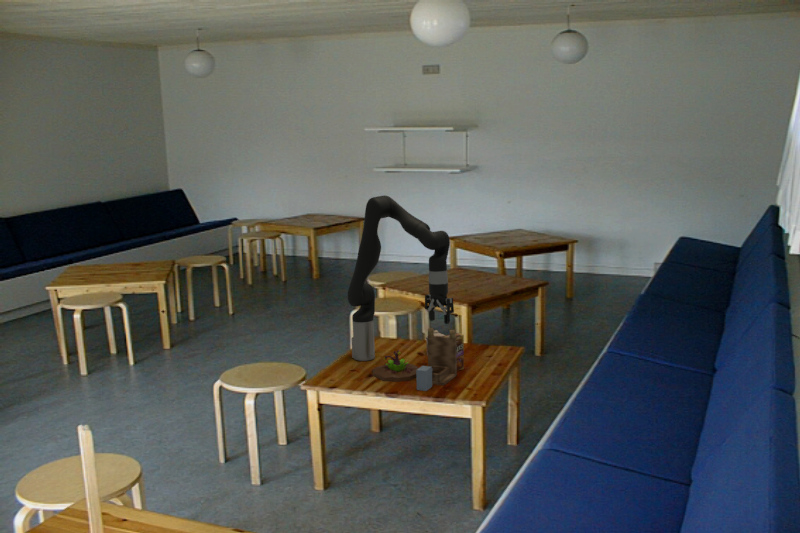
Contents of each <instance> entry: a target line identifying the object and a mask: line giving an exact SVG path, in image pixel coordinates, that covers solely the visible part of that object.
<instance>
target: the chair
mask: <svg viewBox="0 0 800 533" xmlns="http://www.w3.org/2000/svg"><path fill="white" fill-rule="evenodd" d="M434 331H435V330H434V328H432V327H429V328H427V335H428V336H427V335H426V336H427V338H428V355H427V366H429V367H432V368H433V371H432V385H435V386H436V385H437V386H446V384H448V383H449V382H450V381H452V380H453V379H455V377H457V375H458V371H457V357H456V329H450V330H449V335H450V337H445V336H446V335H445V336H434ZM415 382H416V383H417V379H416V380H415Z"/></svg>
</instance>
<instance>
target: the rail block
mask: <svg viewBox="0 0 800 533" xmlns="http://www.w3.org/2000/svg"><path fill="white" fill-rule="evenodd" d="M432 371H433V368H432V367H429V366H428V365H421V366H420V367H418V369H417V370H416V377H417V378H416V380H417V382H416V390H417V391H424V392H427V391H428V390H430V389H431V388H432V387H433V384H432Z"/></svg>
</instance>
